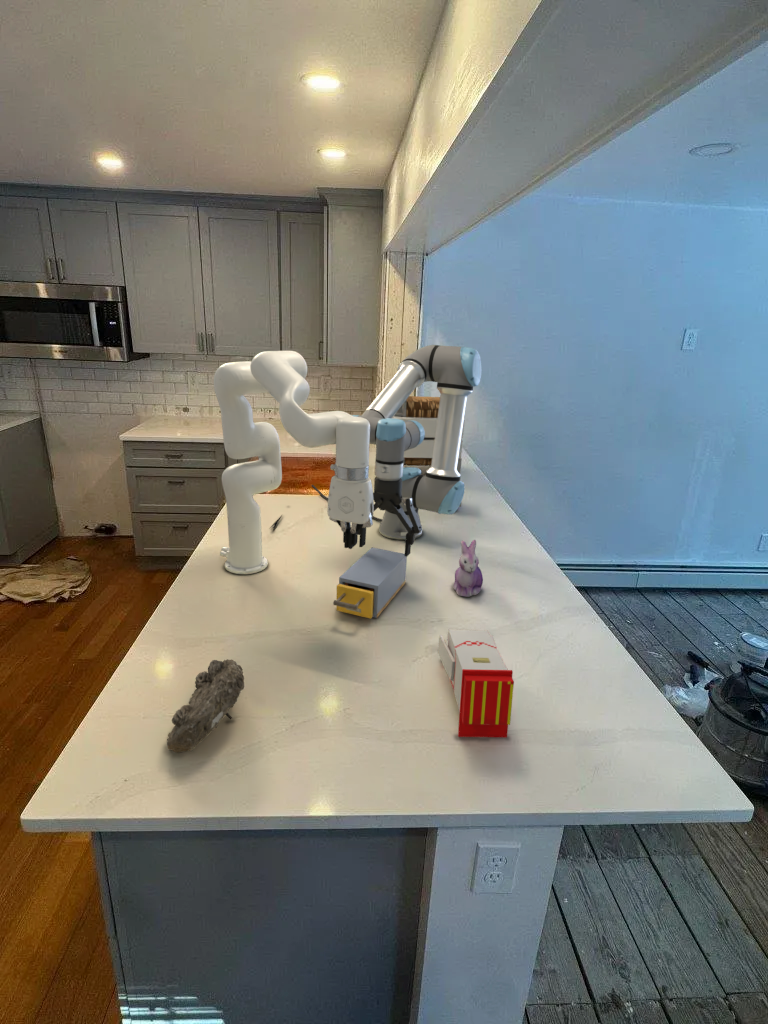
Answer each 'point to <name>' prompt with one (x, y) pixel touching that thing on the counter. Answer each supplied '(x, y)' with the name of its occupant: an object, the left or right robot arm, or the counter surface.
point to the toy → (478, 682)
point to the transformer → (427, 416)
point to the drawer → (355, 600)
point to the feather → (275, 523)
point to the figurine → (468, 572)
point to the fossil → (206, 705)
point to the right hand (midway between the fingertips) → (384, 550)
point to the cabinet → (378, 575)
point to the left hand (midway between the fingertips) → (350, 546)
